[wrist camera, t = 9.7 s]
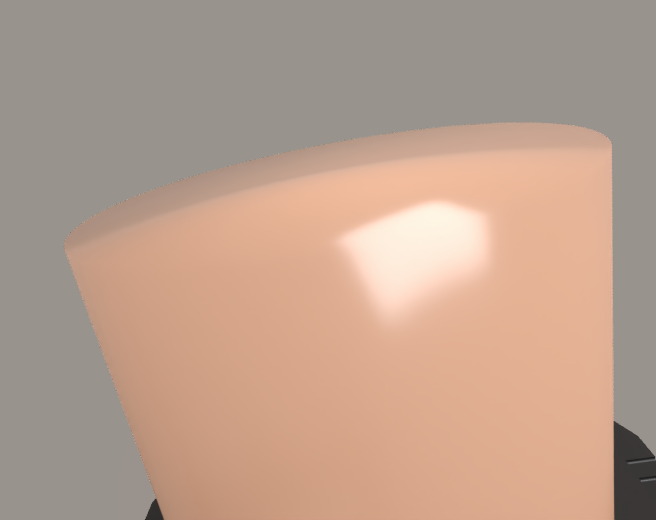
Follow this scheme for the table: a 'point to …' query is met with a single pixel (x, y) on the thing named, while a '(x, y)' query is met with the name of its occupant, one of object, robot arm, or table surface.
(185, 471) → the peach cup
